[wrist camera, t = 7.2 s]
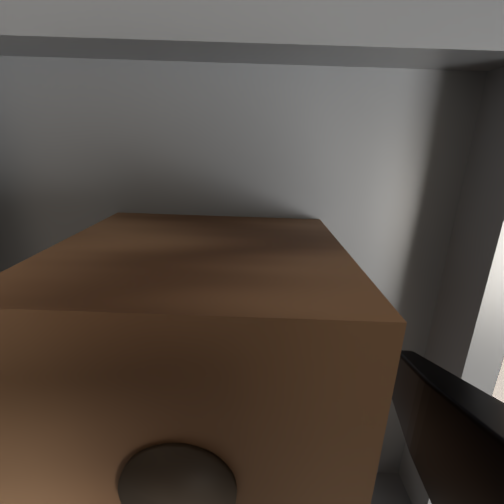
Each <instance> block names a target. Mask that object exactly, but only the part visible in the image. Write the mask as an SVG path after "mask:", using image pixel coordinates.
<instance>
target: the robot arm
mask: <svg viewBox="0 0 504 504" xmlns="http://www.w3.org/2000/svg"><path fill="white" fill-rule="evenodd" d="M392 401H393V404H394V408H395V411H396V414H397V417H398V420H399V423H400V426H401V429H402V432H403V436H404V439H405V442H406V445H407V447H408V450H409V453H410V455H411V458H412V460H413V463H414V465H415V467H416V469H417V472H418V474H419V476H420V479H421V481H422V483H423V485H424V488H425V490H426V492H427V495H428V497H429V499H430V501H431V504H504V403H503V402H501V401H499V400H498V399H496V398H494V397H492V396H491V395H489V394H487V393H485V392H484V391H482V390H480V389H478V388H477V387H475V386H473V385H471V384H470V383H468V382H466V381H464V380H463V379H461V378H459V377H457V376H456V375H454V374H452V373H450V372H449V371H447V370H445V369H443V368H442V367H440V366H438V365H436V364H435V363H433V362H431V361H429V360H428V359H426V358H424V357H422V356H421V355H419V354H417V353H415V352H413V351H410V350H401V355H400V360H399V365H398V370H397V375H396V380H395V385H394V390H393V395H392Z"/></svg>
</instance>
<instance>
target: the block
mask: <svg viewBox="0 0 504 504" xmlns="http://www.w3.org/2000/svg"><path fill="white" fill-rule="evenodd" d="M406 325H407V322H406V321H405V320H404V319H403V317H402V316H401V315H400V314H399V313H398V311H397V310H396V309H395V308H394V307H393V305H392V304H391V303H390V302H389V301H388V300H387V298H386V297H385V296H384V295H383V294H382V292H381V291H380V290H379V289H378V288H377V286H376V285H375V284H374V283H373V282H372V281H371V279H370V278H369V277H368V276H367V275H366V273H365V272H364V271H363V270H362V269H361V268H360V266H359V265H358V264H357V263H356V262H355V260H354V259H353V258H352V257H351V256H350V254H349V253H348V252H347V251H346V250H345V249H344V247H343V246H342V245H341V244H340V243H339V241H338V240H337V239H336V238H335V237H334V235H333V234H332V233H331V232H330V231H329V230H328V228H327V227H326V226H325V225H324V224H323V222H322V221H321V220H320V219H293V218H264V217H235V216H206V215H177V214H148V213H119V212H118V213H116V214H114V215H112V216H110V217H108V218H106V219H104V220H102V221H100V222H98V223H96V224H94V225H92V226H90V227H88V228H86V229H85V230H83V231H81V232H79V233H77V234H75V235H73V236H71V237H69V238H67V239H65V240H63V241H61V242H59V243H57V244H55V245H53V246H51V247H49V248H47V249H45V250H43V251H41V252H39V253H37V254H35V255H34V256H32V257H30V258H28V259H26V260H24V261H22V262H20V263H18V264H16V265H14V266H12V267H10V268H8V269H6V270H4V271H2V272H0V504H371V500H372V495H373V490H374V485H375V480H376V475H377V470H378V465H379V460H380V455H381V450H382V445H383V440H384V435H385V430H386V425H387V420H388V415H389V410H390V405H391V400H392V395H393V390H394V385H395V380H396V375H397V370H398V365H399V360H400V355H401V350H402V345H403V340H404V335H405V330H406Z"/></svg>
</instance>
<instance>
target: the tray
mask: <svg viewBox="0 0 504 504" xmlns="http://www.w3.org/2000/svg"><path fill="white" fill-rule="evenodd" d="M118 212H119V213H148V214H177V215H206V216H235V217H264V218H293V219H320V220H321V221H322V222H323V224H324V225H325V226H326V227H327V228H328V230H329V231H330V232H331V233H332V234H333V235H334V237H335V238H336V239H337V240H338V241H339V243H340V244H341V245H342V246H343V247H344V249H345V250H346V251H347V252H348V253H349V254H350V256H351V257H352V258H353V259H354V260H355V262H356V263H357V264H358V265H359V266H360V268H361V269H362V270H363V271H364V272H365V273H366V275H367V276H368V277H369V278H370V279H371V281H372V282H373V283H374V284H375V285H376V286H377V288H378V289H379V290H380V291H381V292H382V294H383V295H384V296H385V297H386V298H387V300H388V301H389V302H390V303H391V304H392V305H393V307H394V308H395V309H396V310H397V311H398V313H399V314H400V315H401V316H402V317H403V319H404V320H405V321H406V322H407V325H406V330H405V335H404V340H403V345H402V350H410V351H413V352H415V353H417V354H419V355H421V356H422V357H424V358H426V359H428V360H429V361H431V362H433V363H435V364H436V365H438V366H440V367H442V368H443V369H445V370H447V371H449V372H450V373H452V374H454V375H456V376H457V377H459V378H461V379H463V380H464V381H466V382H468V383H470V384H471V385H473V386H475V387H477V388H478V389H480V390H482V391H484V392H485V393H487V394H489V395H491V396H492V394H493V391H494V387H495V384H496V381H497V378H498V374H499V371H500V368H501V365H502V361H503V358H504V0H0V272H2V271H4V270H6V269H8V268H10V267H12V266H14V265H16V264H18V263H20V262H22V261H24V260H26V259H28V258H30V257H32V256H34V255H35V254H37V253H39V252H41V251H43V250H45V249H47V248H49V247H51V246H53V245H55V244H57V243H59V242H61V241H63V240H65V239H67V238H69V237H71V236H73V235H75V234H77V233H79V232H81V231H83V230H85V229H86V228H88V227H90V226H92V225H94V224H96V223H98V222H100V221H102V220H104V219H106V218H108V217H110V216H112V215H114V214H116V213H118ZM371 504H431V501H430V499H429V497H428V495H427V492H426V490H425V488H424V485H423V483H422V481H421V479H420V476H419V474H418V472H417V469H416V467H415V465H414V463H413V460H412V458H411V455H410V453H409V450H408V447H407V445H406V442H405V439H404V436H403V432H402V429H401V426H400V423H399V420H398V417H397V414H396V411H395V408H394V404H393V401H392V400H391V405H390V410H389V415H388V420H387V425H386V430H385V435H384V440H383V445H382V450H381V455H380V460H379V465H378V470H377V475H376V480H375V485H374V490H373V495H372V500H371Z"/></svg>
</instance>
